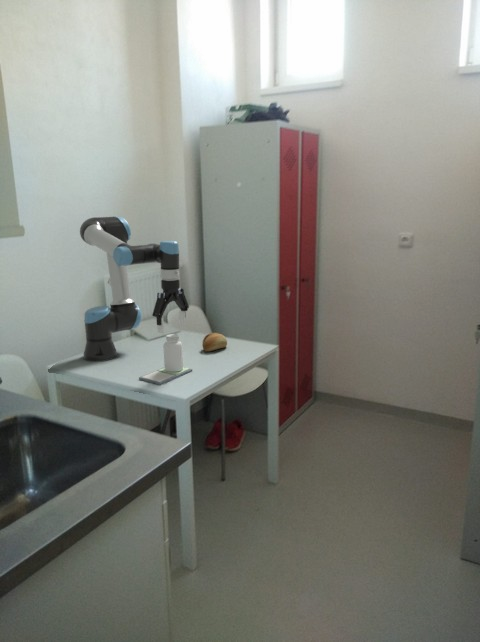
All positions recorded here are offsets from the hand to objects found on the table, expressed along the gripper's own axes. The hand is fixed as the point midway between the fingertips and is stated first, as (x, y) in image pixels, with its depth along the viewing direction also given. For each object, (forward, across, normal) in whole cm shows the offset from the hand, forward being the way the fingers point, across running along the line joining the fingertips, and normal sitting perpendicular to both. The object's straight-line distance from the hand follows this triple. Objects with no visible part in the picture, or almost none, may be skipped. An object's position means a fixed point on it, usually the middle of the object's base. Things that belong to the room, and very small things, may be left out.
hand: (171, 329), depth 213 cm
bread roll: (+20, +37, +5) cm, 42 cm away
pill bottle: (+18, 0, -1) cm, 18 cm away
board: (+19, -5, -1) cm, 20 cm away
